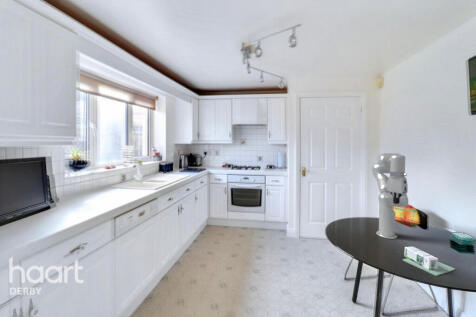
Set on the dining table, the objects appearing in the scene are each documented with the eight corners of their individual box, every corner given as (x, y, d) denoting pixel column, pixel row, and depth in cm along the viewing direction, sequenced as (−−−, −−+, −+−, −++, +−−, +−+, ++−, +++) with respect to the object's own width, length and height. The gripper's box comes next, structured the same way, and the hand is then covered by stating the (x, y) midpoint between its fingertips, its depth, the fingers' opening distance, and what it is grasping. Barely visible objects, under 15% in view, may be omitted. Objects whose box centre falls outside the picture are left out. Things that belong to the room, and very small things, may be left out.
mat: (420, 255, 129) (420, 254, 129) (455, 269, 114) (455, 268, 114) (402, 260, 124) (402, 259, 124) (436, 276, 109) (436, 274, 109)
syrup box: (404, 246, 127) (429, 259, 113) (413, 246, 128) (439, 258, 113) (403, 256, 127) (428, 270, 113) (412, 255, 128) (438, 269, 114)
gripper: (414, 175, 131) (413, 205, 132) (389, 173, 145) (388, 200, 146) (405, 176, 128) (404, 207, 129) (381, 173, 142) (380, 201, 143)
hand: (396, 203), depth 137 cm, fingers closed
